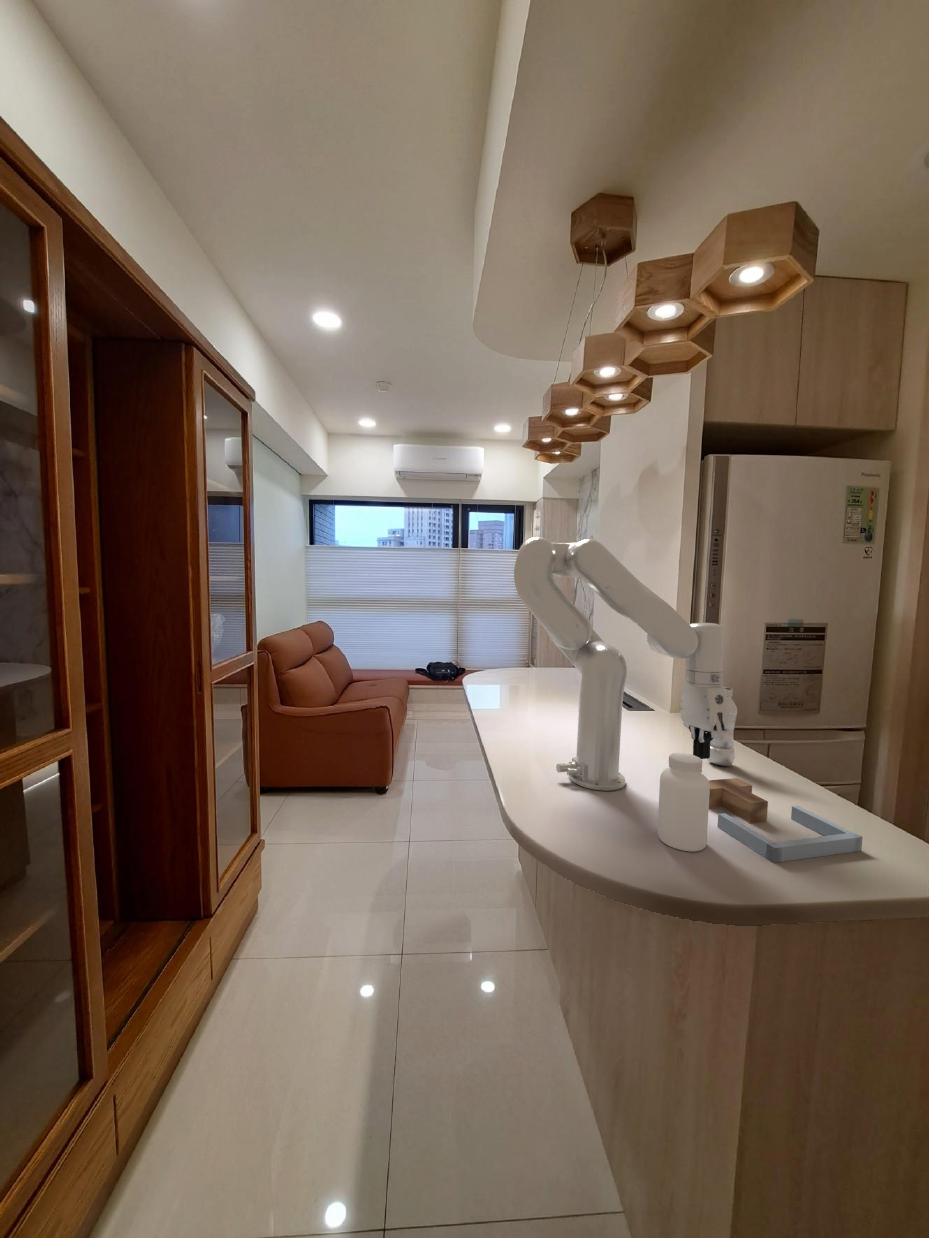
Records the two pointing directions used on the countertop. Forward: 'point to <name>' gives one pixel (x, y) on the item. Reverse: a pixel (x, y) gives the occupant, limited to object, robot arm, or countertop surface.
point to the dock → (829, 844)
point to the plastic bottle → (725, 737)
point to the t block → (738, 799)
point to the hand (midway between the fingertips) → (701, 757)
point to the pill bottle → (683, 803)
